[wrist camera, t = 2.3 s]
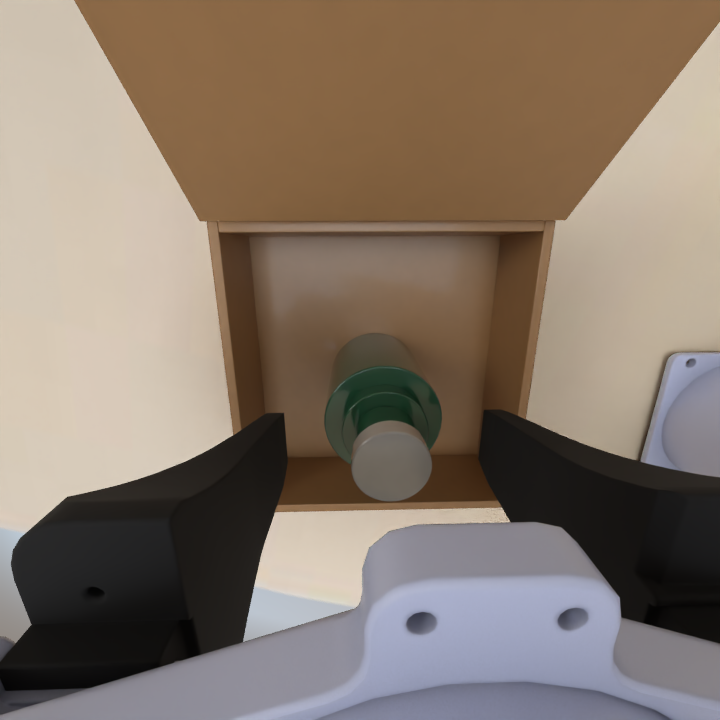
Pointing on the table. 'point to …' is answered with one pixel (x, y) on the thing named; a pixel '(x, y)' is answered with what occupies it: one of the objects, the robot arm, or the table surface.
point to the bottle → (382, 416)
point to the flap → (394, 99)
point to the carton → (379, 315)
